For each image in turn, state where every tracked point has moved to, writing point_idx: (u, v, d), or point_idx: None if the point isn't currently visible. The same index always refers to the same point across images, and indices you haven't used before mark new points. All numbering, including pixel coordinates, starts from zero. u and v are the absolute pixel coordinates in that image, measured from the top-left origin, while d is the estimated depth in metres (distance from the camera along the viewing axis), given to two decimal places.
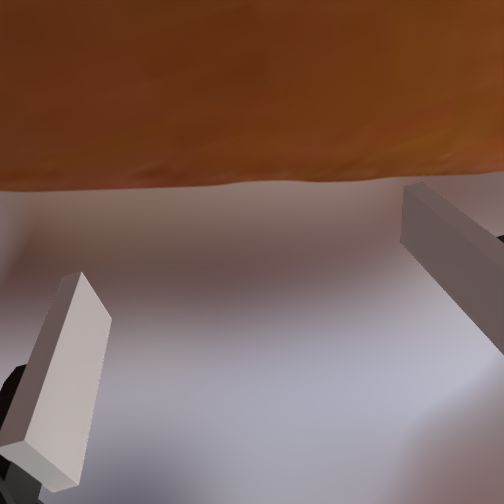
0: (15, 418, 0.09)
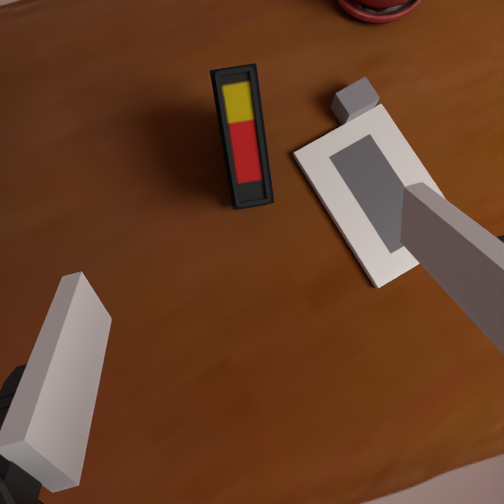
0: (15, 418, 0.09)
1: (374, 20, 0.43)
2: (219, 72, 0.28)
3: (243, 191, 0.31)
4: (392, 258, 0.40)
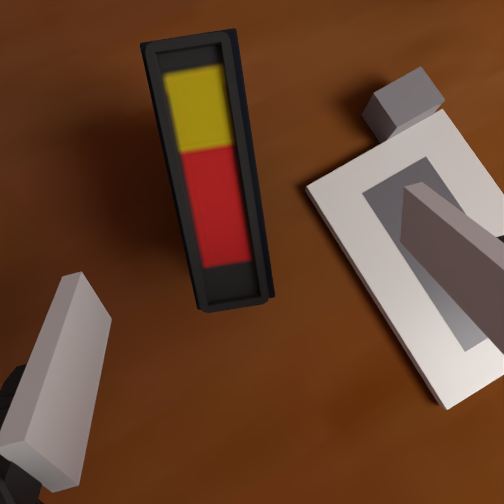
0: (15, 418, 0.09)
1: None
2: (154, 45, 0.13)
3: (214, 282, 0.16)
4: (468, 359, 0.24)
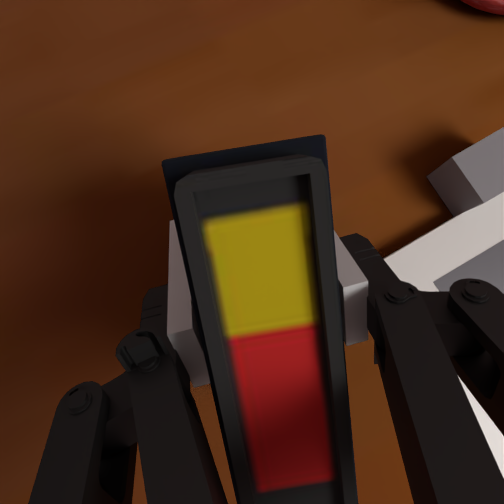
0: (177, 315, 0.11)
1: None
2: (191, 181, 0.07)
3: None
4: None
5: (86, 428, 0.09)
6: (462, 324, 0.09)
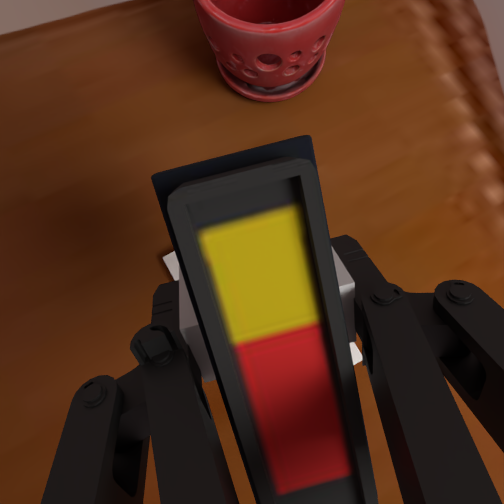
0: (189, 310, 0.11)
1: (262, 100, 0.37)
2: (183, 193, 0.07)
3: None
4: None
5: (101, 421, 0.09)
6: (447, 325, 0.09)
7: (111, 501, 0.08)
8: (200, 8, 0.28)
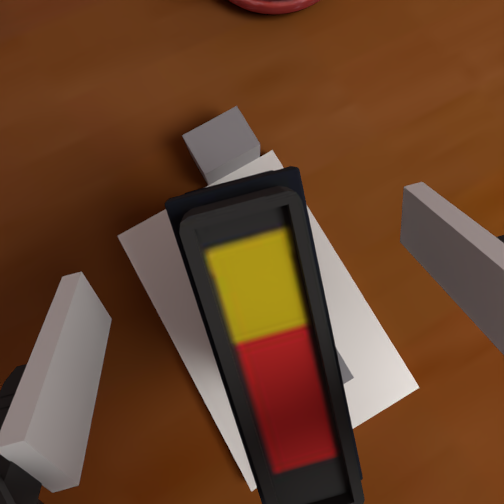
0: (15, 418, 0.09)
1: (264, 9, 0.26)
2: (192, 220, 0.09)
3: (289, 488, 0.12)
4: None
5: None
6: None
7: None
8: None
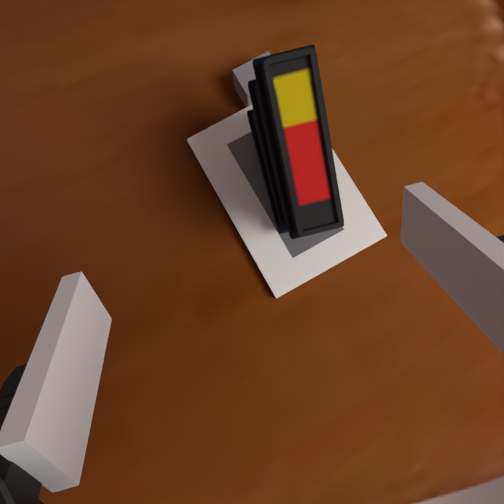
0: (15, 418, 0.09)
1: None
2: (269, 59, 0.20)
3: (306, 215, 0.23)
4: (294, 263, 0.34)
5: None
6: None
7: None
8: None
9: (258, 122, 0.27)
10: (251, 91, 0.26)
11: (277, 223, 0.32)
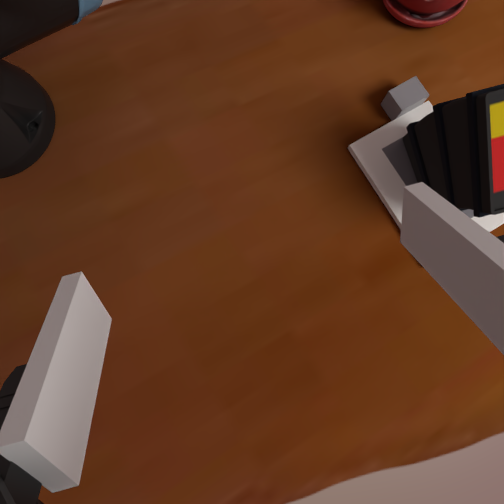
0: (15, 418, 0.09)
1: (421, 25, 0.47)
2: (489, 94, 0.30)
3: (495, 200, 0.33)
4: None
5: None
6: None
7: None
8: None
9: (442, 133, 0.37)
10: (439, 111, 0.36)
11: None
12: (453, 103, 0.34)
